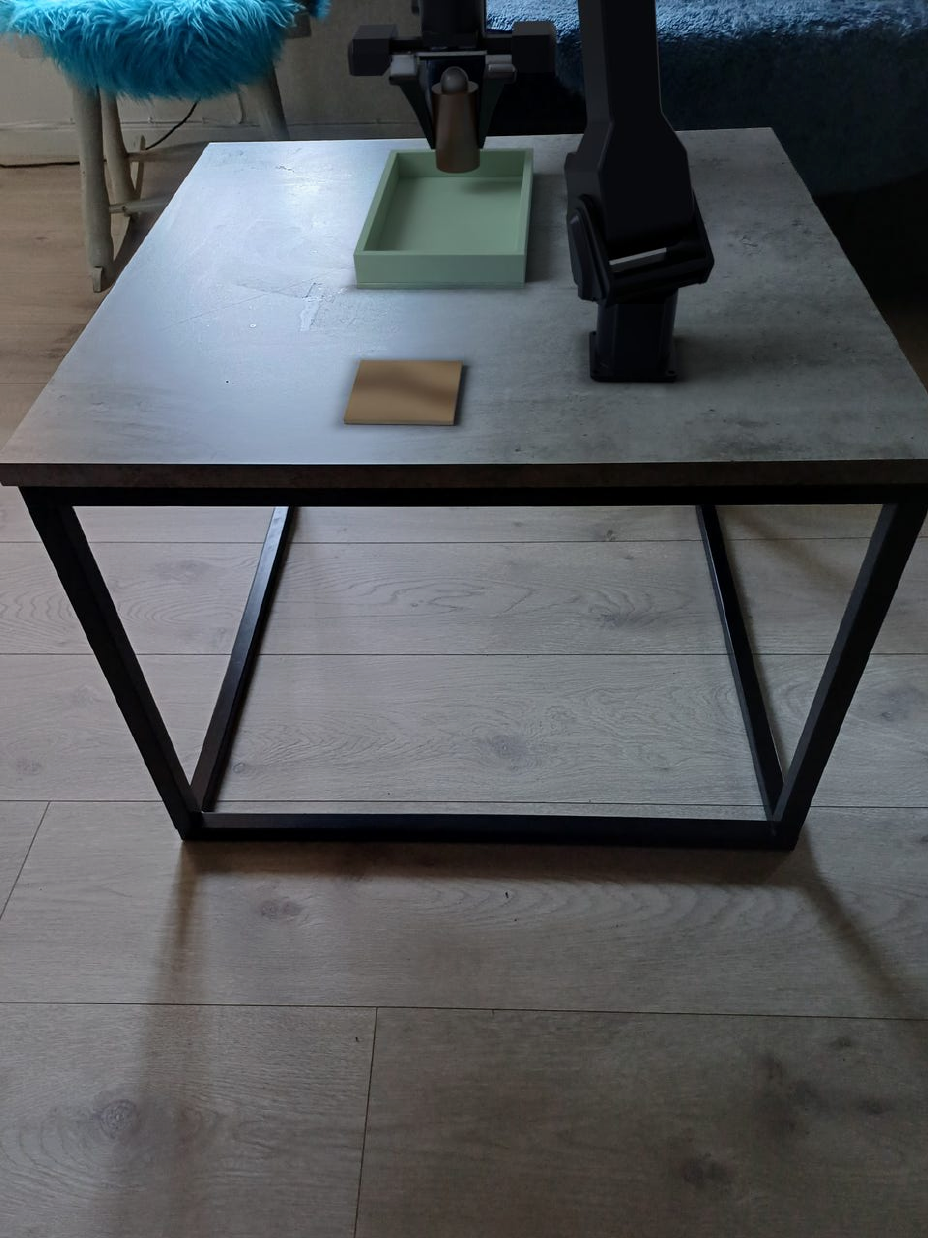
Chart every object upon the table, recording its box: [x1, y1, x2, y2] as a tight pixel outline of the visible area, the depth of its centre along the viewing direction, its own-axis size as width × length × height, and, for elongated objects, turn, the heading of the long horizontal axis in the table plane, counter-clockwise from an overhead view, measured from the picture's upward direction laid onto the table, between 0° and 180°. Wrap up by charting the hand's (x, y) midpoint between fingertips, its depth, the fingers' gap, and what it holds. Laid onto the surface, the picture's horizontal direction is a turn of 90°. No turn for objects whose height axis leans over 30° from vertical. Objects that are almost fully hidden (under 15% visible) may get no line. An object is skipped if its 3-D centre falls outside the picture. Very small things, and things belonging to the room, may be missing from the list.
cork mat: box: [342, 359, 464, 426], centre depth 70 cm, size 8×8×1 cm
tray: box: [352, 147, 535, 290], centre depth 88 cm, size 24×15×3 cm, turn 175°
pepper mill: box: [431, 66, 480, 174], centre depth 89 cm, size 4×4×9 cm
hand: (457, 147), depth 91 cm, fingers closed on pepper mill, 4 cm apart
